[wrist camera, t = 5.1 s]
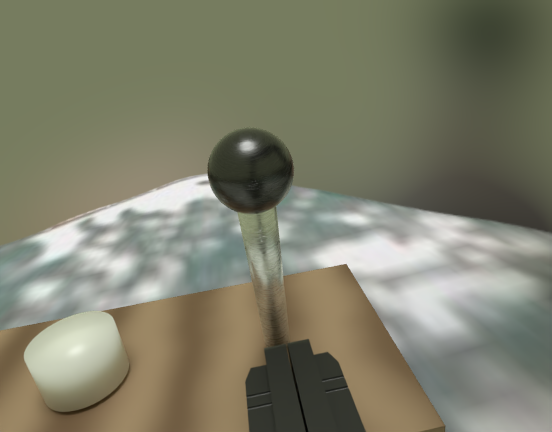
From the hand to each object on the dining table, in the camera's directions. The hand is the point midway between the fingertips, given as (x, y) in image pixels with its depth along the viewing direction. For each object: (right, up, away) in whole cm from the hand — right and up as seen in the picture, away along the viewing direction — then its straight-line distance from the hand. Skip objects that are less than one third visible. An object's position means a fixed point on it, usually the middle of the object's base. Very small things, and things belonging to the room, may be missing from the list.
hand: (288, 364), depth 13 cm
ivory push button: (-12, -6, +12) cm, 18 cm away
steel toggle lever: (0, -3, +13) cm, 13 cm away
